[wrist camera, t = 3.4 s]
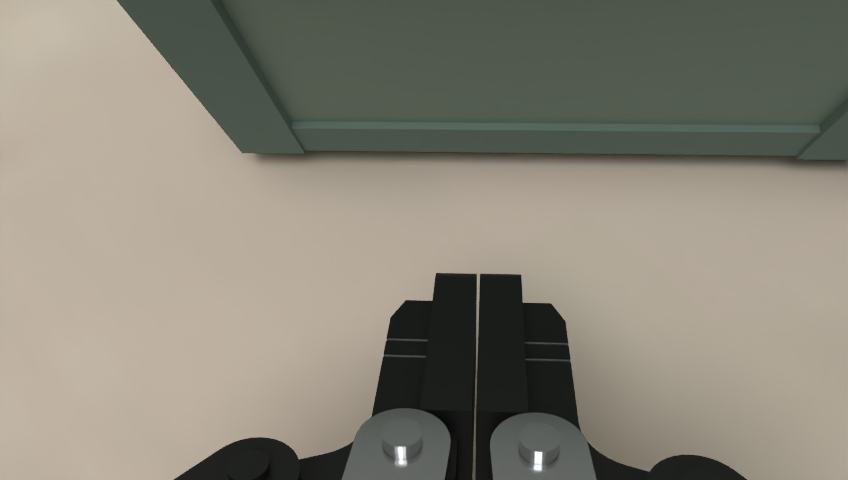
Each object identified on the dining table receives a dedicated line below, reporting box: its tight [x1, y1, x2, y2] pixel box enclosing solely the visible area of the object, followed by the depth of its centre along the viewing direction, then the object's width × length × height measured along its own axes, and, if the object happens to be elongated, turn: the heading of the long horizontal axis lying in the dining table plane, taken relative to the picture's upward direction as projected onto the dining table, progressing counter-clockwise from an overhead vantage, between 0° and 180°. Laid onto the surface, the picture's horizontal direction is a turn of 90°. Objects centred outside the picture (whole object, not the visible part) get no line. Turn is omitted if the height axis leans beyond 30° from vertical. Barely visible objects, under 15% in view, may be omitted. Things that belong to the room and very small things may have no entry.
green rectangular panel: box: [117, 0, 848, 160], centre depth 17 cm, size 17×2×10 cm, turn 88°
